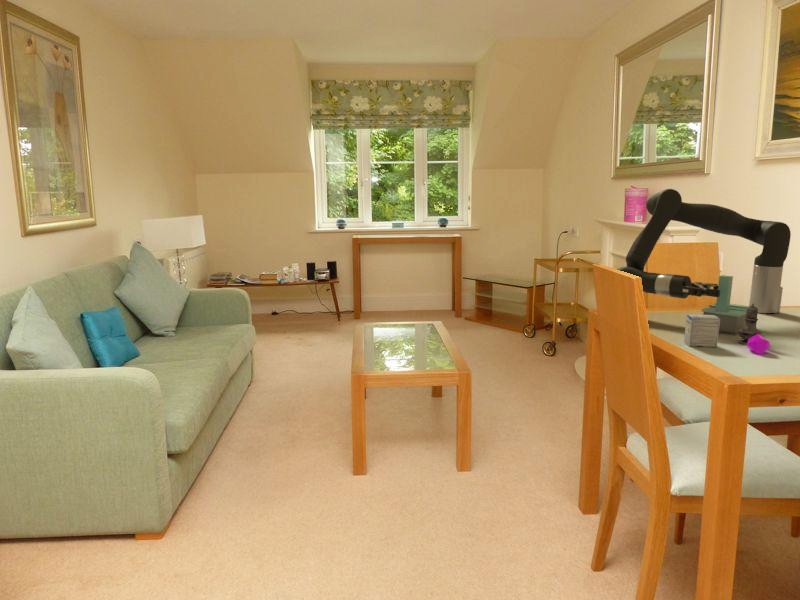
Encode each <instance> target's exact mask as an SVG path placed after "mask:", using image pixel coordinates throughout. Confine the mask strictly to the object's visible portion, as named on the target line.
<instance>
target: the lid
mask: <svg viewBox="0 0 800 600" xmlns="http://www.w3.org/2000/svg"><path fill="white" fill-rule="evenodd" d="M733 279H734V276H733V275H732V276H731V275H724V274H723V275H719V277H718V290H720V296H719V297H716V302H715V303H714V304H713V305H711V304H709V305H708V306H706V307H703V308H701V312H703V313H704V312H709V313H716V314H722V315H729V316H735V317H740V316H742V315H745V314H746V311H747V308H748V307H750V306H749V305H743V304H736V303H735V304H734V303H731V299H732V298H731V297H732V289H733V288H732V287H733ZM756 308H757V307H756Z"/></svg>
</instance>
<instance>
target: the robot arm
mask: <svg viewBox="0 0 800 600" xmlns="http://www.w3.org/2000/svg"><path fill="white" fill-rule="evenodd" d="M645 207H646V210H647V212H648V213H649V214H650V215H651V218H650V219H649V221H648V222H647V224H646V225H645V226H644V228H643V229H642V230H641V232H639V234H638V235H637V237H636V238H635V239H634V240H633V242H632V244H631V246H630V247H629V251H628V252H627V254H626V257H625V262H626V266H621V267H620V266H619V267H618V268H616V269H617V270H620V271H624V272H627V273H630V274H633V275H636V276H639V277H641V278H642V285H643V291H644V292H643V291H642V292H643V293H646V294H653V295H660V296H664V297H667V298H668V297H670V298H675V299H684V300H685V299H687V298H688V297H689V296H693V297H698V298H699V297H706V296H707V297H714V298H717V297H719V296H720V290H718V284H719V283H718V284H717V283H709V282H701V281H695V282H692V279H691V277H690V276H689V275H682V274H671V273H658V272H657V273H656V272H648V271H645V267H646V264H647V263H648V260H649V259H650V257H651V254H652V252H653V251H654V249H655V247H656V245H657V243H658V241H659V240H660V238H661V236H662V234H663V233H664V232H665V230H666V228H667V227H668V226H669V224H670V222H671V221H673V222H675V221H676V222H680V223H684V224H685V225H690V226H693V227H696V228H699V229H703V230H706V231H710V232H713V233H716V234H717V233H718V234H722V235H726V236H734V237H735V236H736V237H740V238H743V239H746V240H748V241H750V242H753V243H756V244H758V245H759V246H762V251H761V253H760V254H759V255H757V256H755V258H754V262H753V271H752V278H751V279H752V280H751V286H750V287H751V288H750V294H749V300H748V301H749V302H748V303H749V304H748V306H752V304H754V306H755V307H757V309H758V313H757V314H766V313H774V314H777V312H781V305H782V299H783V298H782V297H783V286H781V285H782V277H783V270H784V263H785V261H786V259H787V258H788V254H789V249H790V242H791V236H792V235H791V234H792V233H791V228H790V226H789V225H788V224H787V223H785V222H781V221H775V220H773V221H772V220H762V219H761V220H760V219H756V218H755V219H754V218H751V217H746V216H744V215H743V214H741V213H739V212H737V211H735V210H733V209H730V208H727V207H724V206H720V205H716V204H710V203H690V202H684V201H683V200H682V196H681V194H680V192H679V191H677V190H676V189H674V188H666V189H663V190H660V191H657V193H654V194H652V195H651V196H650V197H649V198H648V199H647V201H646V205H645ZM711 287H712V288H711Z"/></svg>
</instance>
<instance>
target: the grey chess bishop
mask: <svg viewBox="0 0 800 600" xmlns="http://www.w3.org/2000/svg"><path fill="white" fill-rule="evenodd" d="M758 314H759V313H758V309H757V308H756V307H755V306H754V304H752V306H750V307H748V308H747V311H746V317H745V318H744V319H745V325H744V327H743V329H739V330H738V331H739V334H738V335H739V336H740V338H741V339H740V340H738V341H737V343H738V344H740V345H745V346H747V342H748V339H749V338H751V337H753V336H755V335H757V334H759V335H760V336H761V334H762V332H761V331H759V330H758V329H757V322H758V321H759V319H758Z"/></svg>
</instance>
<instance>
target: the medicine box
mask: <svg viewBox="0 0 800 600" xmlns="http://www.w3.org/2000/svg"><path fill="white" fill-rule="evenodd" d="M719 326H720V319H719V318H718V317H716V316H714V315H703V314H686V318H685V328H684V339H683V343H684V342H685V343H686V344H687V345H686V344H685V343H684V344H685V345H686V346H688V345H689V346H688V347H697V346H703V347H705V348H717V347H718V342H719V341H718V340H719V334H720V333H719ZM703 347H702V348H703Z"/></svg>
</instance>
